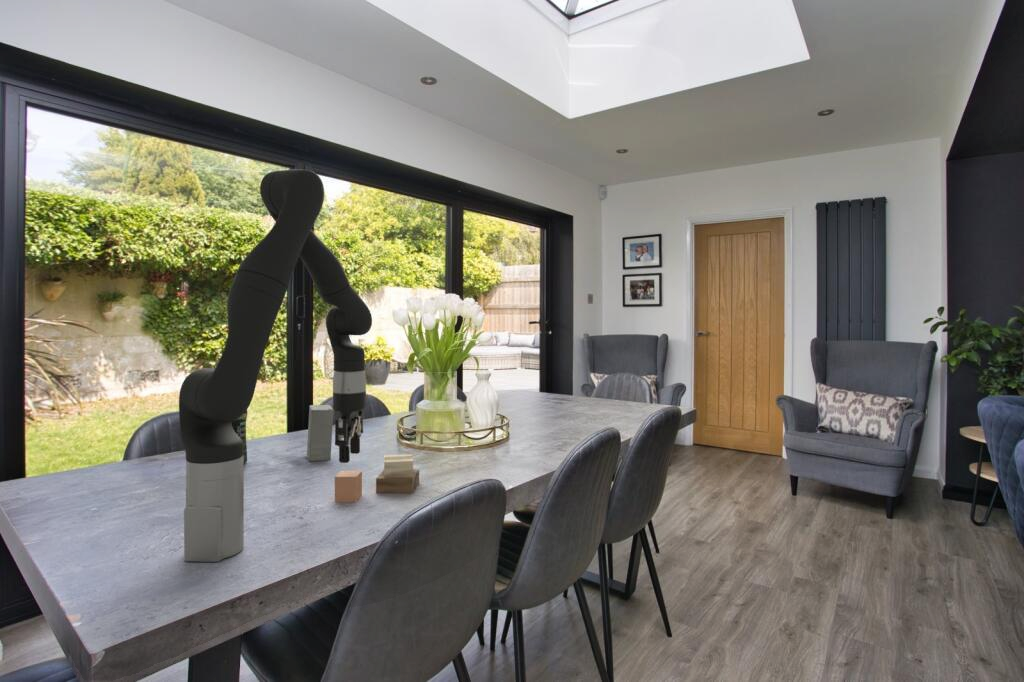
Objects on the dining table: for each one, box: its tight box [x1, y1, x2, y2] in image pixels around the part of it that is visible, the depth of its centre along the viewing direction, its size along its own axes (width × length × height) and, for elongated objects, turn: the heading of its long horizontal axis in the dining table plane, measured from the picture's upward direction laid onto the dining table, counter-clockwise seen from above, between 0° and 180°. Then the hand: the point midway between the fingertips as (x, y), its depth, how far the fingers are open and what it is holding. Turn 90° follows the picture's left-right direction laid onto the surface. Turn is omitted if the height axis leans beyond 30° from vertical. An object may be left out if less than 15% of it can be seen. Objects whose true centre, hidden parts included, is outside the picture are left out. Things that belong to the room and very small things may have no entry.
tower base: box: [375, 468, 420, 495], centre depth 140 cm, size 9×9×4 cm
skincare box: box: [306, 404, 334, 462], centre depth 169 cm, size 8×7×16 cm
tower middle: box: [383, 453, 414, 478], centre depth 140 cm, size 7×7×4 cm
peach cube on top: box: [334, 470, 363, 503], centre depth 131 cm, size 5×5×6 cm
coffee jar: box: [231, 409, 248, 465], centre depth 158 cm, size 10×8×19 cm
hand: (350, 457), depth 131 cm, fingers open, 8 cm apart
